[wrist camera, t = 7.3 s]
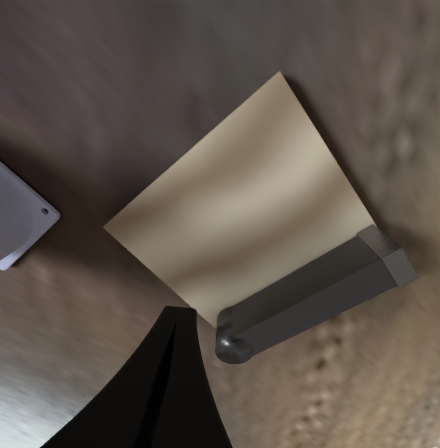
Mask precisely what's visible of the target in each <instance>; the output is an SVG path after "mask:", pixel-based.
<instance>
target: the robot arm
mask: <svg viewBox="0 0 440 448" xmlns="http://www.w3.org/2000/svg"><path fill="white" fill-rule="evenodd" d="M45 209H47V210H48V212H46V211H45ZM59 218H60V214H59V212H58V211H57V210H56V209H55V208H54V207H53V206H51V205H50V204H49V203H48V202H47V201H46V200H44V199H43V198H42V197H41V196H40V195H39V194H37V193H36V192H35V191H34V190H33V189H32V188H31V187H29V186H28V185H27V184H26V183H25V182H24V181H22V180H21V179H20V178H19V177H18V176H17V175H15V174H14V173H13V172H12V171H11V170H10V169H9V168H7V167H6V166H5V165H4V164H3V163H2V162H0V270H6V269H8V268H9V267H10V266H11V265H12V264H13V263H14V262H16V261H17V260H18V259H19V258H20V257H21V256H22V255H23V254H24V253H25V252H26V251H27V250H28V249H29V248H30V247H31V246H32V245H33V244H34V243H35V242H36V241H37V240H38V239H39V238H40V237H41V236H42V235H43V234H44V233H45V232H46V231H47V230H48V229H49V228H51V227H52V226H53V225H54V224H55V223H56V222H57V221H58V220H59ZM196 317H197V310H196V309H195V308H184V307H172V306H166V307H165V308H164V309H163V311H162V312H161V314H160V316H159V318H158V319H157V321H156V322H155V324H154V325H153V327H152V328H151V330H150V331H149V333H148V334H147V336H146V337H145V338H144V340H143V341H142V342H141V344H140V345H139V347H138V348H137V349H136V351H135V352H134V353H133V354H132V355H131V357H130V358H129V359H128V360H127V362H126V363H125V364H124V365H123V367H122V368H121V369H120V370H119V371H118V372H117V374H116V375H115V376H114V377H113V378H112V379H111V380H110V381H109V382H108V384H107V385H106V386H105V387H104V388H103V389H102V390H101V391H100V392H99V393H98V394H97V395H96V396H95V397H94V398H93V399H92V400H91V401H90V402H89V403H88V404H87V405H86V406H85V407H84V408H83V409H82V410H81V411H80V412H79V413H78V414H77V415H76V416H75V417H74V418H73V419H72V420H71V421H69V422H68V423H67V424H66V425H65V426H64V427H63V428H62V429H60V430H59V431H58V432H57V433H56V434H55V435H54V436H53V437H52V438H50V439H49V440H48V441H47V442H46V443H45V444H44V445H43V446H41V447H40V448H233V447H232V445H231V443H230V440H229V438H228V435H227V433H226V430H225V428H224V425H223V423H222V421H221V418H220V415H219V413H218V410H217V407H216V404H215V401H214V398H213V395H212V392H211V389H210V386H209V383H208V379H207V376H206V372H205V368H204V364H203V360H202V356H201V351H200V346H199V340H198V333H197V323H196Z"/></svg>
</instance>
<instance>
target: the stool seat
mask: <svg viewBox="0 0 440 448" xmlns="http://www.w3.org/2000/svg"><path fill="white" fill-rule="evenodd" d="M372 224H373V225H374V226H376V224H375V223H374V221H373V219H372V218H371V216H370V215H369V213H368V211H367V210H366V208H365V207H364V205H363V203H362V202H361V200H360V199H359V197H358V195H357V194H356V192H355V191H354V189H353V187H352V186H351V184H350V183H349V181H348V179H347V178H346V176H345V175H344V173H343V171H342V170H341V168H340V167H339V165H338V163H337V162H336V160H335V159H334V157H333V155H332V154H331V152H330V151H329V149H328V147H327V146H326V144H325V143H324V141H323V139H322V138H321V136H320V135H319V133H318V131H317V130H316V128H315V127H314V125H313V123H312V122H311V120H310V119H309V117H308V116H307V114H306V112H305V111H304V109H303V108H302V106H301V104H300V103H299V101H298V100H297V98H296V96H295V95H294V93H293V92H292V90H291V88H290V87H289V85H288V84H287V82H286V80H285V79H284V77H283V76H282V74H281V72H280V71H279V72H278V73H276V74H275V75H274V76H272V77H271V78H270V79H269V80H268V81H267V82H266V83H264V84H263V85H262V86H261V87H260V88H259V89H258V90H257V91H255V92H254V93H253V94H252V95H251V96H250V97H249V98H247V99H246V100H245V101H244V102H243V103H242V104H241V105H240V106H238V107H237V108H236V109H235V110H234V111H233V112H232V113H231V114H229V115H228V116H227V117H226V118H225V119H224V120H223V121H221V122H220V123H219V124H218V125H217V126H216V127H215V128H214V129H212V130H211V131H210V132H209V133H208V134H207V135H206V136H204V137H203V138H202V139H201V140H200V141H199V142H198V143H197V144H195V145H194V146H193V147H192V148H191V149H190V150H189V151H187V152H186V153H185V154H184V155H183V156H182V157H181V158H180V159H178V160H177V161H176V162H175V163H174V164H173V165H172V166H170V167H169V168H168V169H167V170H166V171H165V172H164V173H163V174H161V175H160V176H159V177H158V178H157V179H156V180H155V181H154V182H152V183H151V184H150V185H149V186H148V187H147V188H146V189H144V190H143V191H142V192H141V193H140V194H139V195H138V196H137V197H135V198H134V199H133V200H132V201H131V202H130V203H129V204H127V205H126V206H125V207H124V208H123V209H122V210H121V211H120V212H118V213H117V214H116V215H115V216H114V217H113V218H112V219H111V220H110V221H109V222H108V223H106V224H105V225H104V226H103V228H104V229H105V230H106V231H107V232H108V233H110V234H111V235H112V236H113V237H114V238H115V239H116V240H117V241H118V242H120V243H121V244H122V245H123V246H124V247H125V248H126V249H127V250H128V251H130V252H131V253H132V254H133V255H134V256H135V257H136V258H137V259H138V260H140V261H141V262H142V263H143V264H144V265H145V266H146V267H147V268H148V269H150V270H151V271H152V272H153V273H154V274H155V275H156V276H157V277H159V278H160V279H161V280H162V281H163V282H164V283H165V284H166V285H167V286H169V287H170V288H171V289H172V290H173V291H174V292H175V293H176V294H177V295H179V296H180V297H181V298H182V299H183V300H184V301H185V302H186V303H187V304H189V305H190V306H191V307H192V308H195V309H196V310H197V313H199V314H200V315H201V316H202V317H203V318H204V319H205V320H206V321H207V322H209V323H210V324H211V325H212V326H213V327H214V328H215V329H216V325H217V316H218V314H219V313H220V311H222V310H223V309H225V308H228V307H233V306H234V305H236V304H238V303H240V302H241V301H243V300H245V299H247V298H248V297H250V296H252V295H254V294H255V293H257V292H259V291H261V290H262V289H264V288H266V287H268V286H269V285H271V284H273V283H275V282H276V281H278V280H280V279H282V278H283V277H285V276H287V275H289V274H290V273H292V272H294V271H296V270H297V269H299V268H301V267H303V266H304V265H306V264H308V263H310V262H311V261H313V260H315V259H317V258H318V257H320V256H322V255H324V254H325V253H327V252H329V251H331V250H332V249H334V248H336V247H338V246H339V245H341V244H343V243H345V242H346V241H348V240H350V239H352V238H353V237H355V236H357V234H356V233H358V232H360V231H361V230H363V229H365V228H367V227H368V226H370V225H372ZM376 227H377V226H376ZM377 228H378V227H377Z"/></svg>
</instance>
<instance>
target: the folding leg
mask: <svg viewBox="0 0 440 448" xmlns="http://www.w3.org/2000/svg"><path fill="white" fill-rule="evenodd" d="M356 234H357V236H355V237H353V238H352V239H350V240H348V241H346V242H345V243H343V244H341V245H339V246H338V247H336V248H334V249H332V250H331V251H329V252H327V253H325V254H324V255H322V256H320V257H318V258H317V259H315V260H313V261H311V262H310V263H308V264H306V265H304V266H303V267H301V268H299V269H297V270H296V271H294V272H292V273H290V274H289V275H287V276H285V277H283V278H282V279H280V280H278V281H276V282H275V283H273V284H271V285H269V286H268V287H266V288H264V289H262V290H261V291H259V292H257V293H255V294H254V295H252V296H250V297H248V298H247V299H245V300H243V301H241V302H240V303H238V304H236V305H234V306H233V307H228V308H225V309H223V310H222V311H220V313H219V314H218V316H217V325H216V346H215V353H216V355H217V357H218V358H219V359H220V360H221V361H223V362H226V363H229V364H240V363H244V362H246V361H248V360H249V359H250V358H251V357H252V356H254V355H256V354H258V353H260V352H262V351H264V350H266V349H268V348H270V347H272V346H274V345H276V344H278V343H280V342H282V341H284V340H286V339H288V338H291V337H293V336H295V335H297V334H299V333H301V332H303V331H305V330H307V329H309V328H311V327H313V326H315V325H317V324H319V323H321V322H323V321H325V320H327V319H329V318H331V317H333V316H335V315H338V314H340V313H342V312H344V311H346V310H348V309H350V308H352V307H354V306H356V305H358V304H360V303H362V302H364V301H366V300H368V299H370V298H372V297H374V296H376V295H378V294H380V293H382V292H384V291H387V290H389V289H391V288H393V287H395V286H398V287H401V286H403V285H405V284H407V283H409V282H411V281H413V280H415V279H417V278H418V276H417V274H416V272H415V270H414V269H413V267H412V265H411V263H410V261H409V260H408V258H407V256H406V254H405V252H404V251H403V249H402V248H401V247H400V246H399V245H398V244H397V243H395V242H394V241H393V240H392V239H390V238H389V237H388V236H387V235H385V234H384V233H383V232H382V231H381V230H379V229H378V228H377V227H376V226H374V225H373V224H372V225H370V226H368V227H367V228H365V229H363V230H361V231H360V232H358V233H356Z"/></svg>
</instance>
